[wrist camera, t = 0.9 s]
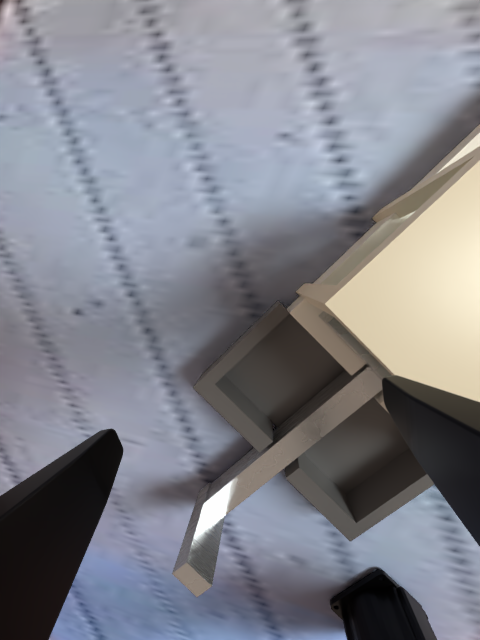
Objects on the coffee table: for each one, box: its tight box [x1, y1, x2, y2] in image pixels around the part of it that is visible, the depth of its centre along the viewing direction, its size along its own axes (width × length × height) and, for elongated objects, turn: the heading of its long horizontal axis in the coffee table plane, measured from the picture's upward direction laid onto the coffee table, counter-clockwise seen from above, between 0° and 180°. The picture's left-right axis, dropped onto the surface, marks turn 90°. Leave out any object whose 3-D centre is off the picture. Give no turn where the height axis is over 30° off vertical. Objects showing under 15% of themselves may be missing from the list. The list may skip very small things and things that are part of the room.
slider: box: [172, 311, 392, 597], centre depth 18 cm, size 29×13×7 cm, turn 135°
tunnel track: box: [193, 124, 480, 542], centre depth 15 cm, size 32×18×11 cm, turn 135°
